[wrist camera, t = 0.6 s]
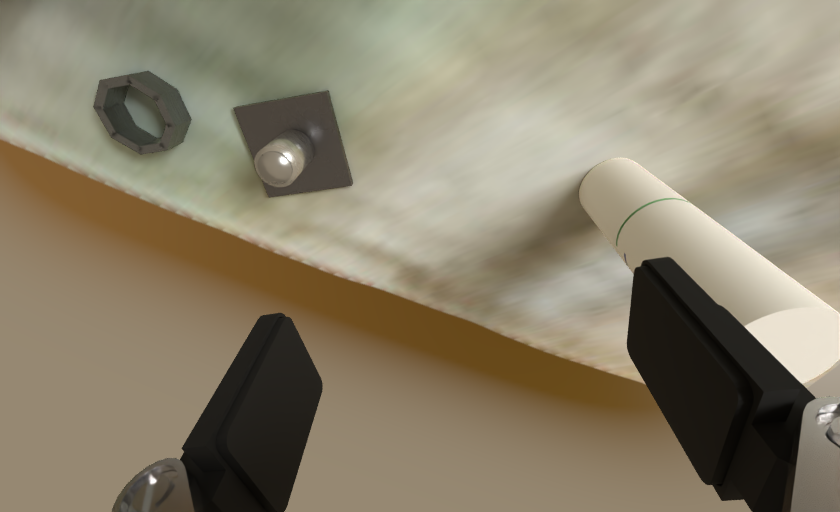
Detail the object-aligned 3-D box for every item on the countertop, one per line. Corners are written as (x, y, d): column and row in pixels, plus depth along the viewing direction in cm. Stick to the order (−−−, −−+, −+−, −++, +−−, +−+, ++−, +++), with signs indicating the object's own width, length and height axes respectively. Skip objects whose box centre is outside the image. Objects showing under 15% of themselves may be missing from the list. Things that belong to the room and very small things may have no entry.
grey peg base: (236, 106, 40) (201, 122, 34) (328, 90, 39) (308, 104, 33) (271, 194, 45) (246, 222, 39) (353, 182, 44) (340, 209, 38)
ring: (103, 79, 39) (80, 84, 36) (167, 67, 38) (148, 71, 36) (141, 148, 43) (122, 157, 40) (200, 139, 42) (185, 147, 39)
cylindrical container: (588, 226, 46) (718, 406, 25) (571, 175, 43) (703, 333, 22) (650, 201, 44) (849, 374, 23) (637, 146, 41) (854, 288, 20)
